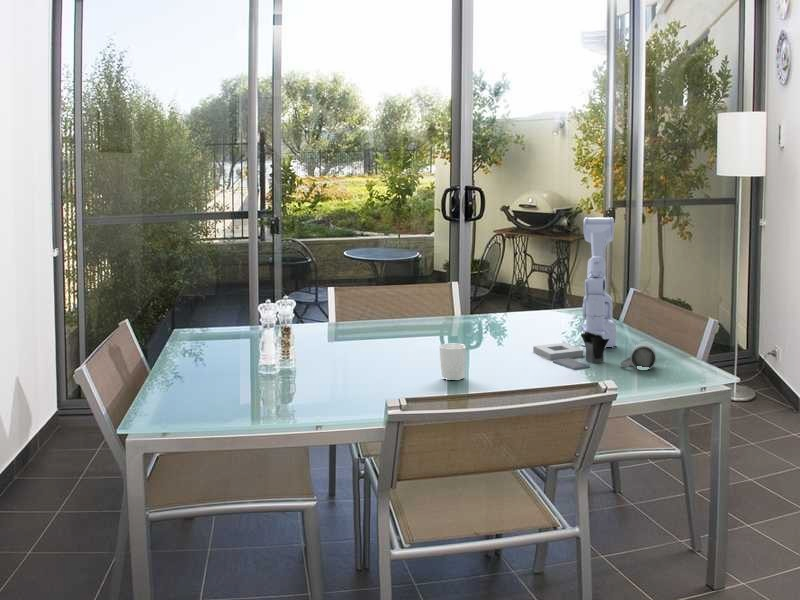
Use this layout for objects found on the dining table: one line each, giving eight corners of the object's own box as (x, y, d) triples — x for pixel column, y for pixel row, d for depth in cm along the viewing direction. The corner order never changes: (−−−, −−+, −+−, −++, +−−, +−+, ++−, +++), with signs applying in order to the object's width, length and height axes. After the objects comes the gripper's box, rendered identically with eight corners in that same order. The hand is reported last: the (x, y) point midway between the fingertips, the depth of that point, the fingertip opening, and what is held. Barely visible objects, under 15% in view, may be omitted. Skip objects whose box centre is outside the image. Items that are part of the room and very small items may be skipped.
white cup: (438, 375, 286) (438, 343, 284) (464, 374, 287) (463, 342, 285) (441, 382, 278) (441, 349, 277) (468, 381, 279) (467, 348, 277)
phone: (568, 361, 301) (568, 357, 301) (589, 369, 292) (589, 365, 292) (552, 364, 299) (552, 360, 299) (573, 371, 289) (574, 367, 289)
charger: (596, 359, 301) (597, 340, 300) (603, 361, 298) (603, 343, 297) (585, 360, 300) (586, 341, 299) (592, 363, 296) (592, 344, 295)
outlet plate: (565, 348, 317) (565, 342, 316) (583, 356, 306) (583, 350, 305) (533, 351, 313) (533, 346, 313) (550, 360, 302) (550, 353, 301)
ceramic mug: (655, 364, 293) (655, 340, 292) (656, 371, 285) (656, 346, 284) (620, 364, 295) (620, 340, 294) (620, 370, 288) (620, 346, 286)
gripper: (572, 312, 302) (572, 353, 304) (596, 320, 288) (595, 363, 291) (591, 310, 304) (591, 350, 306) (616, 318, 290) (615, 360, 293)
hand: (594, 356), depth 299 cm, fingers closed on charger, 4 cm apart
